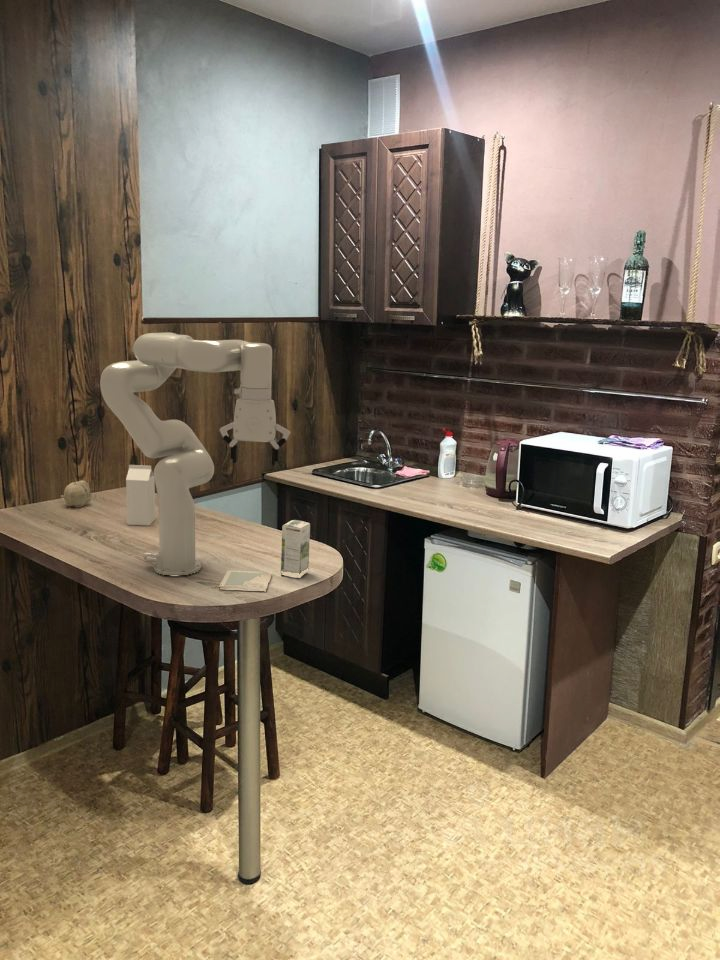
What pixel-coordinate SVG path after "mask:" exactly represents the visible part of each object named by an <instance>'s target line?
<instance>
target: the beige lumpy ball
mask: <svg viewBox="0 0 720 960" xmlns="http://www.w3.org/2000/svg"><path fill="white" fill-rule="evenodd" d="M91 494H92V493H91V487H90V485H89V483H88V482H87V481H85V480H78V481H73V482H71V483H69V484H68V485H66V486H65V488H64V491H63V495H62V494H61V495H60V498H61V499H63V500H64V502H65V504H66V505H67V506H68V507H74V506H75V508H83V507H85V506H87V505H88V504H89V503H91V502H92V498H91V497H92V495H91Z"/></svg>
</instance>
